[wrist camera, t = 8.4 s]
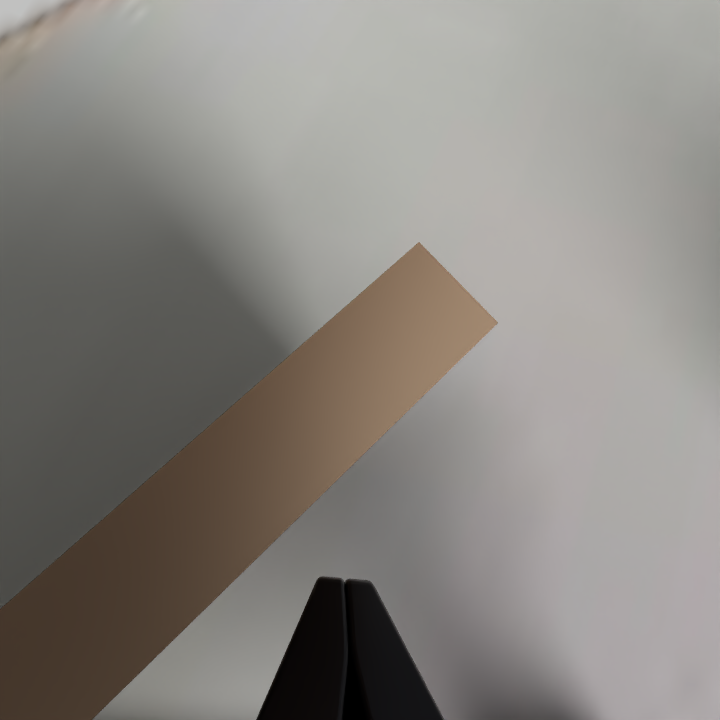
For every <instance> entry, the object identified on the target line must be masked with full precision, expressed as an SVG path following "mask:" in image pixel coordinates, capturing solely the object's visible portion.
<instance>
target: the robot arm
mask: <svg viewBox="0 0 720 720" xmlns="http://www.w3.org/2000/svg"><path fill="white" fill-rule="evenodd" d="M256 720H444V718H443V716H442V715H441V713H440V711H439V709H438V707H437V705H436V703H435V701H434V699H433V697H432V695H431V694H430V692H429V690H428V688H427V686H426V684H425V682H424V680H423V678H422V676H421V674H420V673H419V671H418V669H417V667H416V665H415V663H414V661H413V659H412V657H411V655H410V653H409V652H408V650H407V648H406V646H405V644H404V642H403V640H402V638H401V636H400V634H399V632H398V631H397V629H396V627H395V625H394V623H393V621H392V619H391V617H390V615H389V613H388V611H387V610H386V608H385V606H384V604H383V602H382V600H381V598H380V596H379V594H378V592H377V590H376V589H375V587H374V585H373V584H372V583H371V582H370V581H368V580H359V579H347V580H346V581H345V582H344V580H343V579H341V578H335V577H324V576H321V577H319V578H318V579H317V581H316V583H315V585H314V588H313V590H312V592H311V595H310V597H309V599H308V602H307V604H306V606H305V608H304V611H303V613H302V615H301V618H300V620H299V622H298V625H297V627H296V629H295V631H294V634H293V636H292V638H291V641H290V643H289V645H288V648H287V650H286V652H285V655H284V657H283V659H282V661H281V664H280V666H279V668H278V671H277V673H276V675H275V678H274V680H273V682H272V684H271V687H270V689H269V691H268V694H267V696H266V698H265V701H264V703H263V705H262V708H261V710H260V712H259V714H258V717H257V719H256Z"/></svg>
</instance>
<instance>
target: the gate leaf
mask: <svg viewBox="0 0 720 720" xmlns="http://www.w3.org/2000/svg"><path fill="white" fill-rule="evenodd" d="M497 323H498V322H497V321H496V320H495V319H494V318H493V317H492V316H491V315H490V314H489V313H488V312H487V311H486V310H485V309H484V308H483V307H482V306H481V305H480V304H479V303H478V302H477V301H476V300H475V299H474V298H473V297H472V296H471V295H470V294H469V293H468V292H467V291H466V290H465V288H464V287H463V286H462V285H461V284H460V283H459V282H458V281H457V280H456V279H455V278H454V277H453V276H452V275H451V274H450V273H449V272H448V271H447V270H446V269H445V268H444V267H443V266H442V265H441V264H440V263H439V262H438V261H437V260H436V259H435V258H434V257H433V256H432V255H431V254H430V253H429V252H428V251H427V250H426V249H425V248H424V247H423V246H422V245H421V244H420V243H417V244H416V245H415V246H414V247H413V248H412V249H411V250H409V251H408V252H407V253H406V254H405V255H404V256H403V257H401V258H400V259H399V260H398V261H397V262H396V263H395V264H393V265H392V266H391V267H390V268H389V269H388V270H387V271H385V272H384V273H383V274H382V275H381V276H380V277H379V278H377V279H376V280H375V281H374V282H373V283H372V284H371V285H369V286H368V287H367V288H366V289H365V290H364V291H363V292H361V293H360V294H359V295H358V296H357V297H356V298H355V299H353V300H352V301H351V302H350V303H349V304H348V305H347V306H346V307H344V308H343V309H342V310H341V311H340V312H339V313H338V314H336V315H335V316H334V317H333V318H332V319H331V320H330V321H328V322H327V323H326V324H325V325H324V326H323V327H322V328H320V329H319V330H318V331H317V332H316V333H315V334H314V335H312V336H311V337H310V338H309V339H308V340H307V341H306V342H304V343H303V344H302V345H301V346H300V347H299V348H298V349H296V350H295V351H294V352H293V353H292V354H291V355H290V356H288V357H287V358H286V359H285V360H284V361H283V362H282V363H280V364H279V365H278V366H277V367H276V368H275V369H274V370H272V371H271V372H270V373H269V374H268V375H267V376H266V377H265V378H263V379H262V380H261V381H260V382H259V383H258V384H257V385H255V386H254V387H253V388H252V389H251V390H250V391H249V392H247V393H246V394H245V395H244V396H243V397H242V398H241V399H239V400H238V401H237V402H236V403H235V404H234V405H233V406H231V407H230V408H229V409H228V410H227V411H226V412H225V413H223V414H222V415H221V416H220V417H219V418H218V419H217V420H215V421H214V422H213V423H212V424H211V425H210V426H209V427H207V428H206V429H205V430H204V431H203V432H202V433H201V434H199V435H198V436H197V437H196V438H195V439H194V440H193V441H191V442H190V443H189V444H188V445H187V446H186V447H185V448H184V449H182V450H181V451H180V452H179V453H178V454H177V455H176V456H174V457H173V458H172V459H171V460H170V461H169V462H168V463H166V464H165V465H164V466H163V467H162V468H161V469H160V470H158V471H157V472H156V473H155V474H154V475H153V476H152V477H150V478H149V479H148V480H147V481H146V482H145V483H144V484H142V485H141V486H140V487H139V488H138V489H137V490H136V491H134V492H133V493H132V494H131V495H130V496H129V497H128V498H126V499H125V500H124V501H123V502H122V503H121V504H120V505H118V506H117V507H116V508H115V509H114V510H113V511H112V512H110V513H109V514H108V515H107V516H106V517H105V518H104V519H103V520H101V521H100V522H99V523H98V524H97V525H96V526H95V527H93V528H92V529H91V530H90V531H89V532H88V533H87V534H85V535H84V536H83V537H82V538H81V539H80V540H79V541H77V542H76V543H75V544H74V545H73V546H72V547H71V548H69V549H68V550H67V551H66V552H65V553H64V554H63V555H61V556H60V557H59V558H58V559H57V560H56V561H55V562H53V563H52V564H51V565H50V566H49V567H48V568H47V569H45V570H44V571H43V572H42V573H41V574H40V575H39V576H37V577H36V578H35V579H34V580H33V581H32V582H31V583H29V584H28V585H27V586H26V587H25V588H24V589H23V590H22V591H20V592H19V593H18V594H17V595H16V596H15V597H14V598H12V599H11V600H10V601H9V602H8V603H7V604H6V605H4V606H3V607H2V608H1V609H0V720H92V719H93V718H94V717H95V716H96V715H97V714H98V713H99V712H100V711H101V710H102V709H103V708H104V707H105V706H106V705H107V704H108V703H109V702H110V701H111V700H112V699H113V698H114V697H115V696H116V695H118V694H119V693H120V692H121V691H122V690H123V689H124V688H125V687H126V686H127V685H128V684H129V683H130V682H131V681H132V680H133V679H134V678H135V677H136V676H137V675H138V674H139V673H140V672H141V671H142V670H143V669H144V668H145V667H146V666H147V665H148V664H149V663H150V662H151V661H152V660H153V659H154V658H155V657H156V656H157V655H158V654H159V653H161V652H162V651H163V650H164V649H165V648H166V647H167V646H168V645H169V644H170V643H171V642H172V641H173V640H174V639H175V638H176V637H177V636H178V635H179V634H180V633H181V632H182V631H183V630H184V629H185V628H186V627H187V626H188V625H189V624H190V623H191V622H192V621H193V620H194V619H195V618H196V617H197V616H198V615H199V614H200V613H201V612H202V611H203V610H205V609H206V608H207V607H208V606H209V605H210V604H211V603H212V602H213V601H214V600H215V599H216V598H217V597H218V596H219V595H220V594H221V593H222V592H223V591H224V590H225V589H226V588H227V587H228V586H229V585H230V584H231V583H232V582H233V581H234V580H235V579H236V578H237V577H238V576H239V575H240V574H241V573H242V572H243V571H244V570H245V569H246V568H248V567H249V566H250V565H251V564H252V563H253V562H254V561H255V560H256V559H257V558H258V557H259V556H260V555H261V554H262V553H263V552H264V551H265V550H266V549H267V548H268V547H269V546H270V545H271V544H272V543H273V542H274V541H275V540H276V539H277V538H278V537H279V536H280V535H281V534H282V533H283V532H284V531H285V530H286V529H287V528H288V527H289V526H290V525H292V524H293V523H294V522H295V521H296V520H297V519H298V518H299V517H300V516H301V515H302V514H303V513H304V512H305V511H306V510H307V509H308V508H309V507H310V506H311V505H312V504H313V503H314V502H315V501H316V500H317V499H318V498H319V497H320V496H321V495H322V494H323V493H324V492H325V491H326V490H327V489H328V488H329V487H330V486H331V485H332V484H333V483H335V482H336V481H337V480H338V479H339V478H340V477H341V476H342V475H343V474H344V473H345V472H346V471H347V470H348V469H349V468H350V467H351V466H352V465H353V464H354V463H355V462H356V461H357V460H358V459H359V458H360V457H361V456H362V455H363V454H364V453H365V452H366V451H367V450H368V449H369V448H370V447H371V446H372V445H373V444H374V443H375V442H376V441H378V440H379V439H380V438H381V437H382V436H383V435H384V434H385V433H386V432H387V431H388V430H389V429H390V428H391V427H392V426H393V425H394V424H395V423H396V422H397V421H398V420H399V419H400V418H401V417H402V416H403V415H404V414H405V413H406V412H407V411H408V410H409V409H410V408H411V407H412V406H413V405H414V404H415V403H416V402H417V401H418V400H419V399H420V398H422V397H423V396H424V395H425V394H426V393H427V392H428V391H429V390H430V389H431V388H432V387H433V386H434V385H435V384H436V383H437V382H438V381H439V380H440V379H441V378H442V377H443V376H444V375H445V374H446V373H447V372H448V371H449V370H450V369H451V368H452V367H453V366H454V365H455V364H456V363H457V362H458V361H459V360H460V359H461V358H462V357H463V356H465V355H466V354H467V353H468V352H469V351H470V350H471V349H472V348H473V347H474V346H475V345H476V344H477V343H478V342H479V341H480V340H481V339H482V338H483V337H484V336H485V335H486V334H487V333H488V332H489V331H490V330H491V329H492V328H493V327H494V326H495V325H496V324H497Z"/></svg>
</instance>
